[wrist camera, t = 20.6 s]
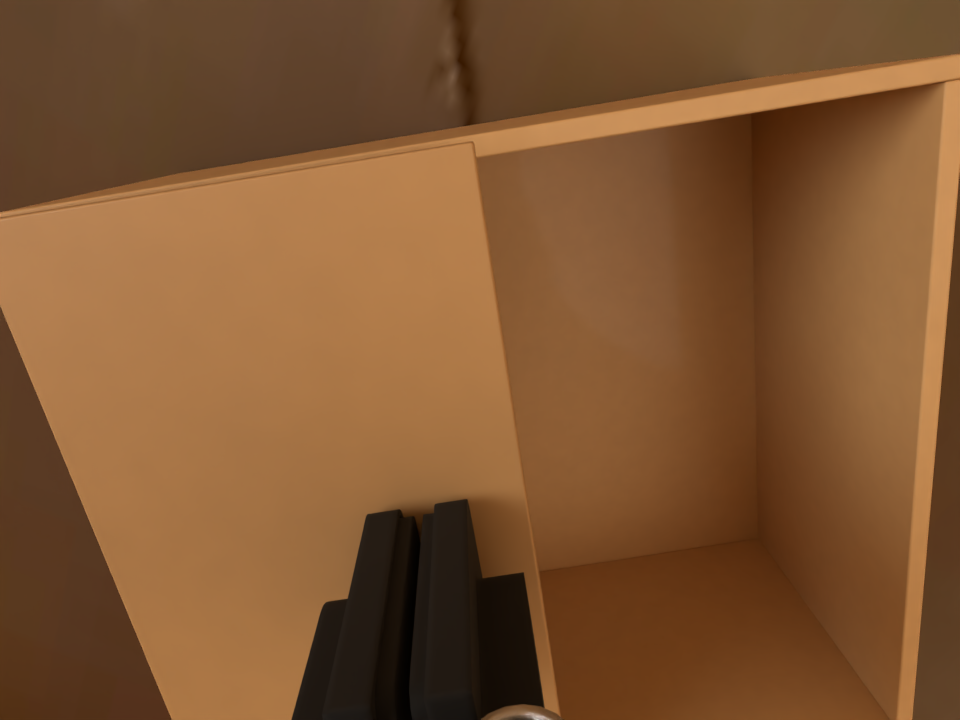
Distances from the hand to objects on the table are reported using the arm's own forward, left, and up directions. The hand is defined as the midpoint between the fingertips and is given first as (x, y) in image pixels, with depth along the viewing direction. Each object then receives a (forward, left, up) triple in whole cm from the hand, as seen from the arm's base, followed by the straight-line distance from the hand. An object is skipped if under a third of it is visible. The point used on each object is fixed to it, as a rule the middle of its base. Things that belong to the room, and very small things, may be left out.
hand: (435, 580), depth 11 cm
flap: (-2, 0, -1) cm, 2 cm away
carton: (+2, 0, -9) cm, 9 cm away
